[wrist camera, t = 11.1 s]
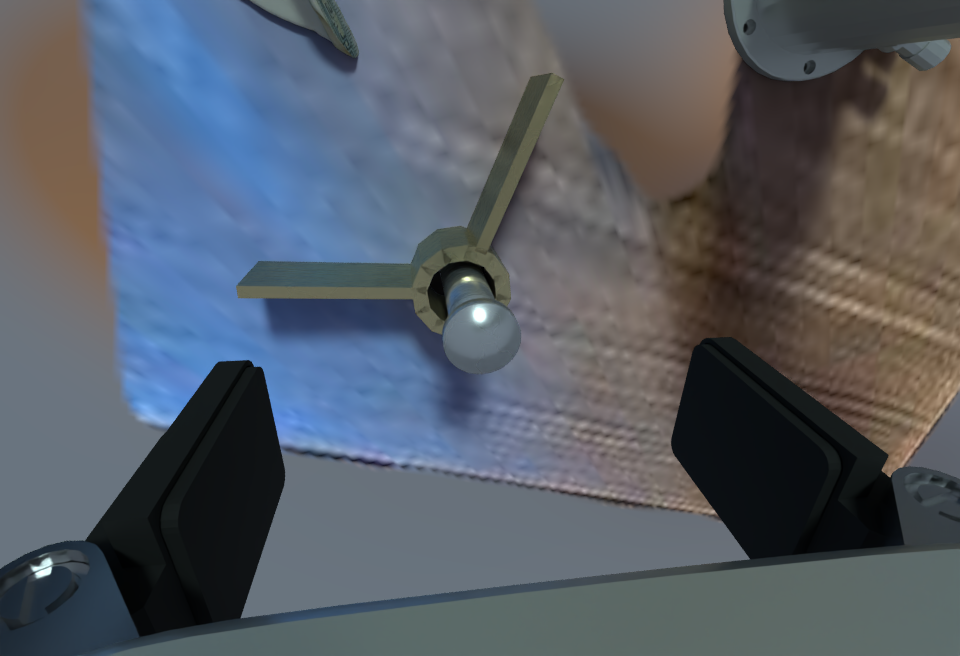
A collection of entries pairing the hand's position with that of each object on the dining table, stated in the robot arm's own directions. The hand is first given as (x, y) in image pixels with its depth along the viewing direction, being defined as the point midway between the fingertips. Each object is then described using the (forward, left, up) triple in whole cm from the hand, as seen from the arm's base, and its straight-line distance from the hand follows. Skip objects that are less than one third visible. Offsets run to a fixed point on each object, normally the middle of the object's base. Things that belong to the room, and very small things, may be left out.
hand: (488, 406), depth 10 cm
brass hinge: (+1, 0, -26) cm, 26 cm away
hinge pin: (-4, +4, -26) cm, 26 cm away
